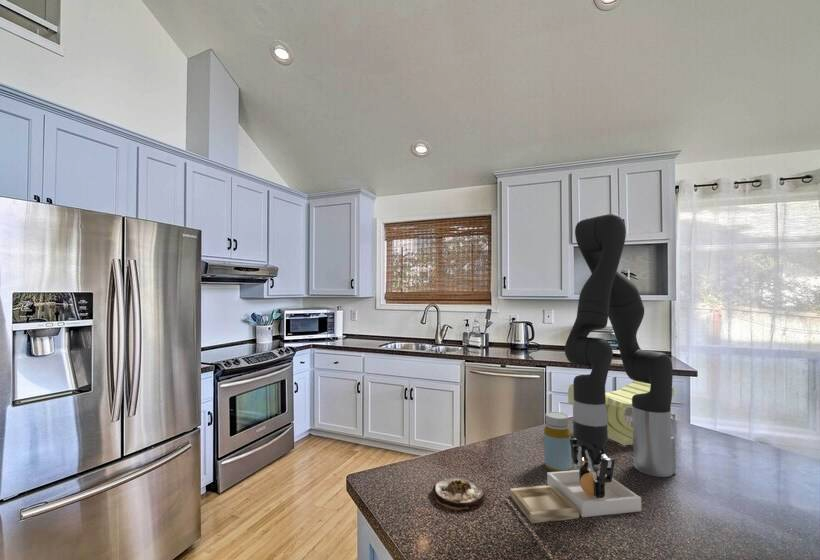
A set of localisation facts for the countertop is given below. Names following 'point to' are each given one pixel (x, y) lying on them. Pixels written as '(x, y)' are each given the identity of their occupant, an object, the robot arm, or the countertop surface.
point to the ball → (587, 483)
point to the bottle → (557, 442)
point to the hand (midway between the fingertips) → (591, 490)
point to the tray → (543, 503)
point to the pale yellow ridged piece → (619, 409)
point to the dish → (611, 503)
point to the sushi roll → (459, 494)
